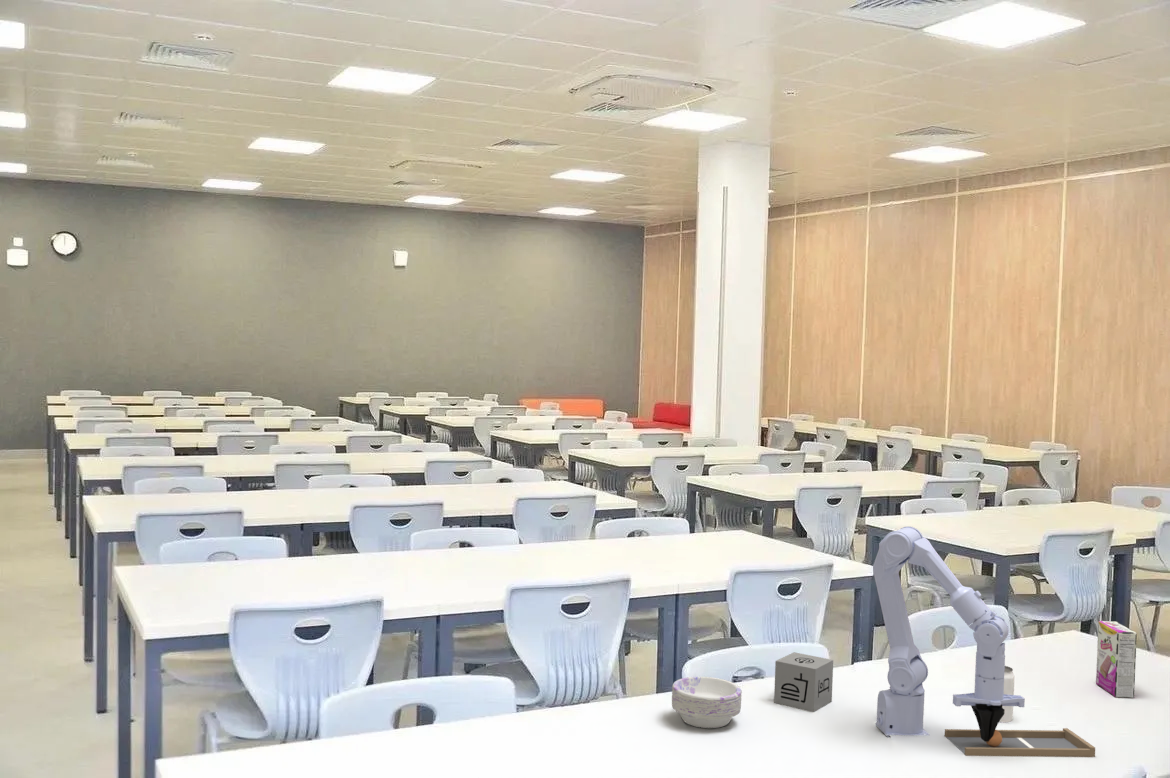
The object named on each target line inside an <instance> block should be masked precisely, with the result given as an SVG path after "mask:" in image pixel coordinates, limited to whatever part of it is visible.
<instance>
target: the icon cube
mask: <svg viewBox="0 0 1170 778" xmlns="http://www.w3.org/2000/svg"><path fill="white" fill-rule="evenodd" d="M774 663H775V667H774V668H775V669H774V693H773V703H774V704H775V705H781V706H785V707H790V708H793V709H797V710H803V711H807V712H810V713H815V712H817V711H819V710H821V709H822V708H824V707H825V706H828V705H829V704H831V703H832V702H833V681H834V680H833V678H834V659H832V658H831V659H830V658H825V657H820V656H814V655H809V654H804V653H800V652H799V653H798V652H791V653H790V654H789V653H788V655H785V656H783V657H780V658H779V659H777V660H775V662H774Z"/></svg>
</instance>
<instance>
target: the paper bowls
mask: <svg viewBox="0 0 1170 778" xmlns="http://www.w3.org/2000/svg"><path fill="white" fill-rule="evenodd" d="M742 693H743V690H742V688H741V687H740V686H739V685H738V684H736V683H734V682H732V681H729V680H726V679H723V678H718V677H711V676H689V677H688V676H687V677H683V678H679V679H677V680H676V681H674V682H673V684H672V687H671V708H672V709H673V711H675V712H677V713H679V715H680V717H681V719H682V720H683V721H684V722H685V723H686V724H687V725H689V726H692V727H696V728H700V727H701V729H718V728H722V727H725V726H727V725H728V724H729V723H730V721H731V720H732V718H733V717H736V716H737V715H739V714H741V713H740V712H741V709H742Z"/></svg>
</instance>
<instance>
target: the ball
mask: <svg viewBox="0 0 1170 778" xmlns="http://www.w3.org/2000/svg"><path fill="white" fill-rule="evenodd" d="M997 730H998V729H995V732H994V735H993V737H992V738H991V739H990V741H988V742H986V743H987V744H988V745H990V746H993V747H996V746H999V745H1000V744H1001V742H1002V735H1001V734H1000V732H999V731H997ZM988 740H989V739H988Z"/></svg>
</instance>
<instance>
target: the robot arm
mask: <svg viewBox="0 0 1170 778" xmlns="http://www.w3.org/2000/svg"><path fill="white" fill-rule="evenodd" d="M906 563H908V564H909V565H910V564H911V565H915V566H920V567H923V568H924V569H925V570H926V571H927V572H928V573H929V575H930V576H931V577H932V578H933V579H934V580H935V581H936V582H937V583H938V584H939V585H940V586H941V588H942V589H943V590H945V592H946V593H947V594H948V595H949V600H950V601H949V603H950V606H951V607H952V608H953V609H954V611H955V612H956V614H958V616H959V617H960V618H961V619H962V620H963V622H964V623H965V624H966V625H967V626H968V627H969V628H970V630H972V631H973V633H972V634H973V639H974V641H975V643H976V652H975V671H974V672H975V673H974V692H968V693H961V694H960V693H958V694H954V693H953V694H952V704H953V705H954V706H955V707H962V706H970V707H971V709H972V711H973V714H974V716H975V719H976V721H977V724H978V725H977V726H978V730H980V735H981V739H982V740H983V741H985V742H988V741H990V739H991V738H992V737H993V735H994V732H995V730H997V727H998V725H999V723H1000V722H999V721H1000V719H1001V718H1002V717H1003V715H1004V712H1005V710H1004V709H1003V708H1002V706H1013V707H1019V708H1025V697H1023V696H1022V695H1018V694H1017V695H1016V694H1014V695H1007V694H1004V671H1005V666H1006V655H1005V651H1006V643H1005V642H1004V641H1005V640H1006V639H1007V638H1008V636H1009V627H1008V624H1007V623H1006V621H1005V619H1004V618H1003V617H1002V616H999V615H998V614H997V613H996V611H995V610H991V609H990V607H989V606H988V604H986V602H984V600H983V599H982V598H981V597H982V594H981V592H980V591H979V590H976V591H975V589H974V588H972V587H969V586H964V585H962V583H961V582H960V581H959V579H958V578H957V577H956V576H955V574H954V573H953V572H952V569H950V568H949V566H948V565H947V564H946V562H945V561H944V560H943V558H942V557H941V556H940V554H938V553H937V551H936V549H935V548H934V547H933V544H931V542H930V541H929V539H927V538H926V537H925V536H923V534H922V533H921V531H920V530H919V529H917V528H915V527H913V526H903V527H901V528H900V529H897V530H893V531H890V532H888V533H887V534H886V535H885V536H884V537H883V539H881V540H880V542H879V543H878V551H877V554H876V556H875V560H874V563H873V565H872V571H873V576H874V581H875V586H876V589H877V594H878V599H879V603H880V604H879V605H880V608H881V613H882V617H883V618H882V619H883V622H884V626H885V631H886V636H887V640H888V646H889V652H888V656H887V657H888V658H887V663H888V671H887V681H888V685H889V688H888V689H885V690H883V689H882V690H879V692H878V695H877V699H876V701H877V703H876V704H877V705H876V722H875V723H874V725H875V726H877V728H878V729H879V730H880V731H881V733H883V734H884V735H885V736H886V737H891V736H930V734H929V732H928V731H926V730H925V729H924V717H925V716H924V715H925V714H924V711H925V688H924V685H923V683H924V682H925V681H926V680H927V678H928V675H929V669H928V666H927V664H926V662H925V661H924V660H923V658H922V656H921V652H920V649H919V648H918V647H917V645H916V644H915V641H914V637H913V633H912V628H911V623H910V619H909V615H908V610H907V605H906V602H905V598H904V593H903V592H904V591H903V588H902V582H901V577H900V575H899V572H900V571H901V569H902V568H903V567H904V565H906ZM988 739H989V740H988Z"/></svg>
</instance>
